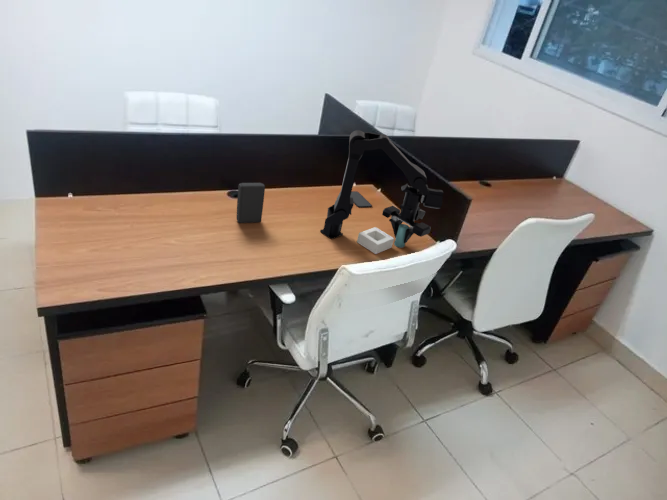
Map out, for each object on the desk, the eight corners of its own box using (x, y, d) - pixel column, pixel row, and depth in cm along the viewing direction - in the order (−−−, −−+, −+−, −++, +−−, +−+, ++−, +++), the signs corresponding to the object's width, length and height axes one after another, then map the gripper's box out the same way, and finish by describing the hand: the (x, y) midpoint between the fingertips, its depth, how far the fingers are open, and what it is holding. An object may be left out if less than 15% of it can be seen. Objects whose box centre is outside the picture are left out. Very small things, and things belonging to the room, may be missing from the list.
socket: (375, 254, 173) (377, 244, 171) (356, 242, 178) (358, 232, 176) (391, 247, 179) (394, 238, 177) (373, 235, 184) (375, 226, 182)
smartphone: (357, 191, 217) (373, 205, 206) (357, 192, 218) (372, 207, 206) (343, 191, 214) (358, 206, 203) (342, 193, 214) (357, 208, 203)
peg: (400, 248, 179) (405, 230, 175) (392, 243, 182) (397, 225, 177) (406, 246, 182) (411, 227, 178) (398, 241, 184) (403, 223, 180)
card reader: (259, 217, 181) (263, 181, 173) (262, 223, 178) (266, 186, 170) (235, 218, 177) (238, 181, 170) (237, 224, 174) (240, 186, 167)
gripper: (444, 210, 173) (432, 246, 181) (404, 189, 183) (394, 224, 191) (426, 216, 166) (415, 254, 174) (386, 194, 176) (377, 231, 184)
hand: (400, 240), depth 181 cm, fingers closed on peg, 4 cm apart
